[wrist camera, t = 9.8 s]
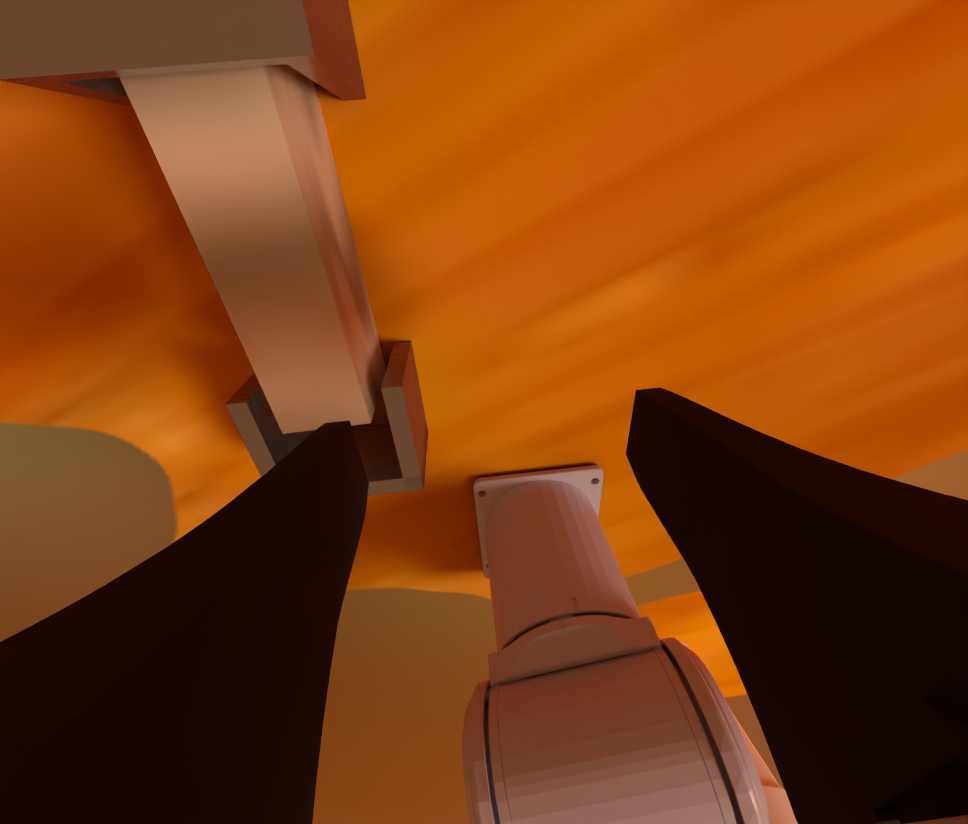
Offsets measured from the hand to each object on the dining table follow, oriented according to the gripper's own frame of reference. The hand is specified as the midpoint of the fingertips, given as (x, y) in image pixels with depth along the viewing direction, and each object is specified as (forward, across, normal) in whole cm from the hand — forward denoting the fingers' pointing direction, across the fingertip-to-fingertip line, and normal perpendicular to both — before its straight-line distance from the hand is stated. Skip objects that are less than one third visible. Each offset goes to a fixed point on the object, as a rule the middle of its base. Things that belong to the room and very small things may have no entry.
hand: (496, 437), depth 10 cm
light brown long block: (+10, +6, -4) cm, 13 cm away
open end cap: (+10, +6, +4) cm, 12 cm away
